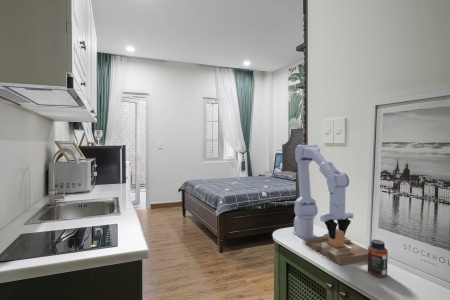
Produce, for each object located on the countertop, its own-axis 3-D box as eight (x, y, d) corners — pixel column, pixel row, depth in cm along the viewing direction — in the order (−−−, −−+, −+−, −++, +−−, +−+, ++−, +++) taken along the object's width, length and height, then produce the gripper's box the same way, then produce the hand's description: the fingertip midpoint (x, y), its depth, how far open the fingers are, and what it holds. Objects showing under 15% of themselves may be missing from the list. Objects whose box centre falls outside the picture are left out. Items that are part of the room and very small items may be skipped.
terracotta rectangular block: (335, 248, 102) (335, 232, 102) (328, 244, 106) (328, 229, 106) (343, 246, 103) (343, 231, 103) (336, 243, 107) (336, 228, 107)
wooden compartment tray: (305, 244, 117) (305, 235, 117) (334, 239, 122) (334, 231, 122) (340, 265, 97) (340, 254, 97) (373, 258, 102) (373, 248, 102)
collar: (321, 247, 107) (321, 242, 107) (337, 245, 109) (337, 240, 109) (335, 255, 99) (335, 250, 99) (352, 252, 102) (352, 247, 102)
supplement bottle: (390, 279, 87) (391, 245, 87) (370, 277, 89) (371, 244, 88) (383, 270, 93) (383, 238, 93) (365, 268, 95) (365, 237, 94)
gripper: (329, 207, 98) (329, 243, 98) (359, 204, 102) (359, 238, 103) (317, 203, 104) (316, 237, 105) (346, 200, 109) (345, 232, 109)
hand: (336, 237), depth 104 cm, fingers closed on terracotta rectangular block, 4 cm apart
